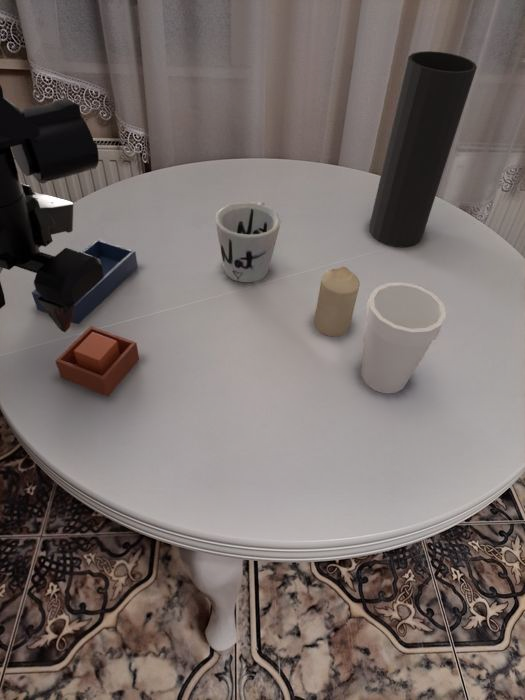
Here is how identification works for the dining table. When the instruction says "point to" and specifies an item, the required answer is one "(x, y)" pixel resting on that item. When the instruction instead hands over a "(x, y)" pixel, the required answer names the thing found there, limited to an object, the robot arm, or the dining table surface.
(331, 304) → the candle
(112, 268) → the slate bin
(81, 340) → the terracotta bin
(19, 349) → the dining table surface
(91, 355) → the terracotta block
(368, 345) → the foam cup
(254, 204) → the mug
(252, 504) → the dining table surface
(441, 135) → the vase
